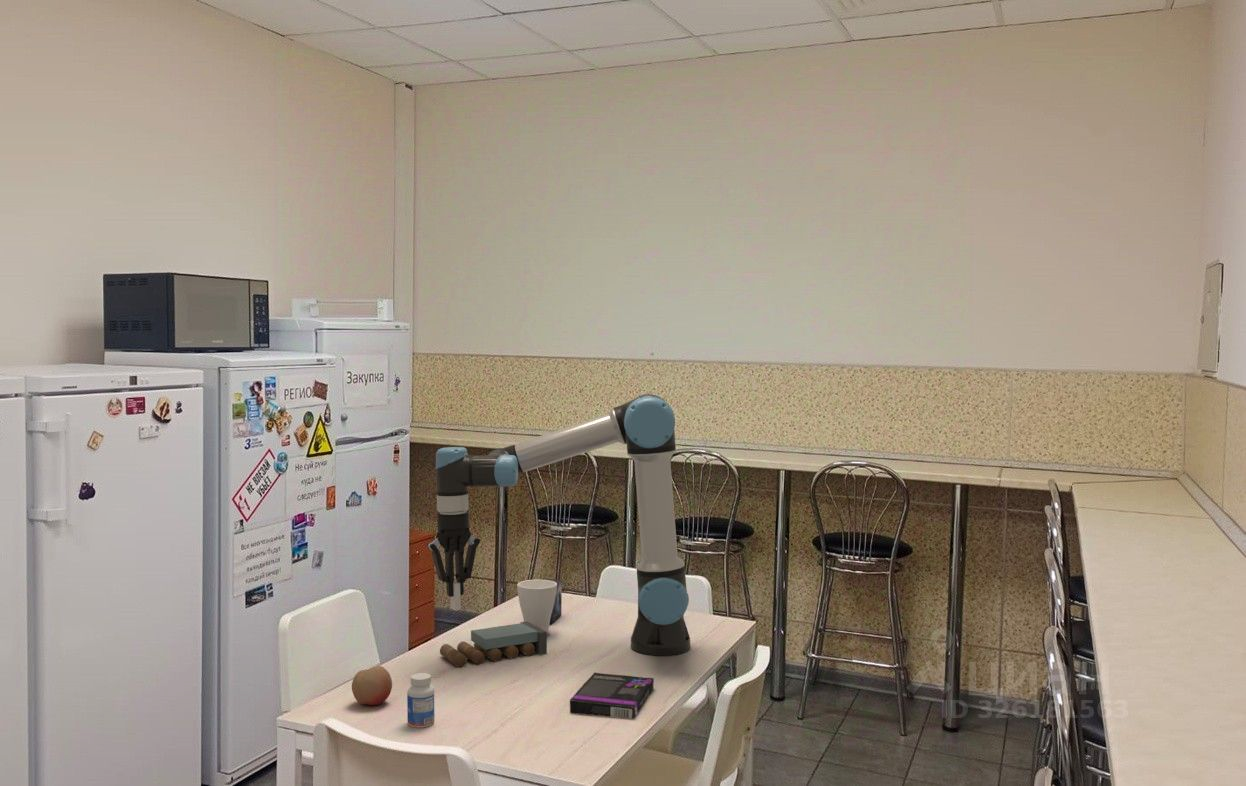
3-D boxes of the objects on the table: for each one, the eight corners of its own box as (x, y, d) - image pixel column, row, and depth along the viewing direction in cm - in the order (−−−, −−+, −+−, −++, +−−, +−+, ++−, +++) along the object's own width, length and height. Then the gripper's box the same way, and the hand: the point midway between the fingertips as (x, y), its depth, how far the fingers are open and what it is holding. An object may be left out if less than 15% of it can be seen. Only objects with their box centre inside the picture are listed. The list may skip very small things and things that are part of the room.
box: (633, 723, 212) (654, 691, 231) (633, 706, 212) (654, 675, 231) (568, 716, 216) (594, 684, 235) (568, 699, 216) (594, 669, 234)
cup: (509, 637, 271) (510, 586, 270) (528, 627, 280) (528, 578, 280) (545, 641, 267) (546, 590, 266) (563, 631, 277) (563, 581, 276)
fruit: (371, 695, 226) (371, 659, 225) (399, 702, 221) (399, 665, 221) (344, 706, 219) (344, 668, 218) (372, 713, 215) (372, 675, 214)
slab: (537, 641, 256) (537, 631, 256) (485, 649, 249) (485, 639, 249) (522, 632, 264) (522, 623, 264) (470, 640, 257) (470, 630, 257)
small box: (552, 625, 283) (553, 587, 282) (529, 624, 284) (530, 586, 284) (562, 615, 293) (563, 578, 293) (540, 614, 294) (540, 577, 294)
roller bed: (535, 654, 256) (535, 642, 255) (455, 668, 245) (455, 655, 245) (517, 644, 264) (517, 633, 264) (439, 657, 253) (439, 644, 253)
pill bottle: (409, 718, 211) (409, 671, 211) (435, 718, 212) (435, 671, 211) (405, 728, 206) (405, 680, 206) (433, 728, 206) (433, 680, 206)
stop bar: (546, 653, 257) (546, 631, 256) (539, 654, 256) (539, 632, 255) (527, 642, 266) (527, 621, 266) (520, 643, 265) (520, 622, 265)
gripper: (472, 507, 255) (474, 602, 256) (421, 512, 248) (424, 610, 249) (484, 511, 248) (487, 608, 249) (432, 516, 241) (435, 616, 243)
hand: (455, 609), depth 249 cm, fingers closed
